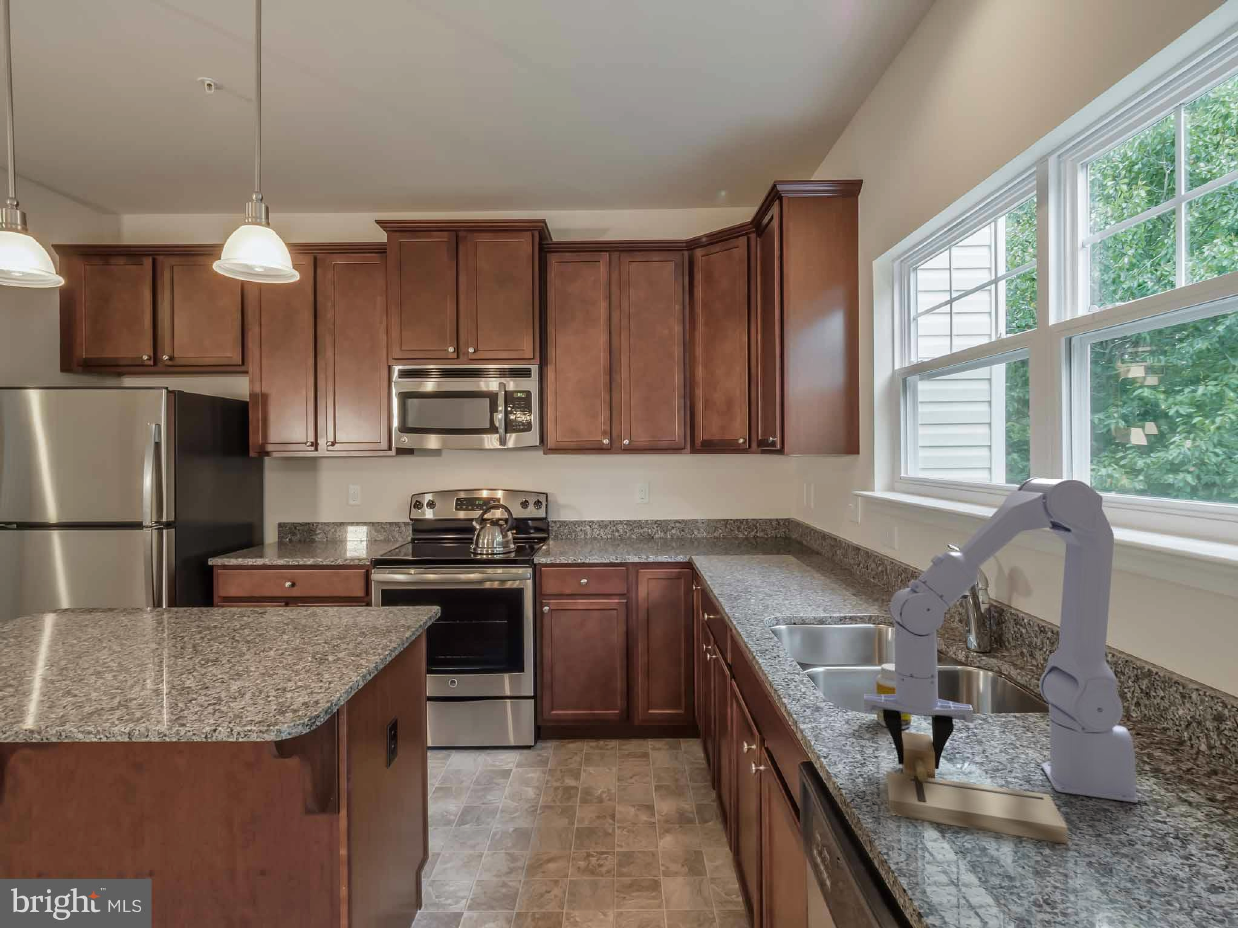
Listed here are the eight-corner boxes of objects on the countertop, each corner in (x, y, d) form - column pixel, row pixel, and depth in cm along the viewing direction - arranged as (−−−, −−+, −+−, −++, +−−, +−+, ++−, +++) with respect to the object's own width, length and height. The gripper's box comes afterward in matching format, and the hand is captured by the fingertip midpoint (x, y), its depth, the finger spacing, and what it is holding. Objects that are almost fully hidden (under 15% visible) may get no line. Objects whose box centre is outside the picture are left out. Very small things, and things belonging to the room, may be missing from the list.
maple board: (1049, 809, 85) (1049, 793, 85) (1067, 843, 77) (1067, 826, 77) (887, 785, 92) (887, 770, 92) (889, 814, 84) (889, 798, 84)
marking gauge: (931, 767, 96) (930, 734, 96) (939, 805, 85) (938, 768, 85) (902, 763, 97) (901, 731, 97) (907, 800, 87) (906, 764, 87)
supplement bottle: (899, 733, 109) (897, 674, 109) (870, 722, 113) (869, 665, 113) (917, 725, 112) (916, 667, 112) (889, 715, 116) (888, 659, 116)
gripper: (967, 667, 95) (969, 758, 95) (863, 659, 100) (865, 744, 100) (975, 683, 88) (977, 781, 88) (863, 673, 93) (865, 765, 93)
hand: (917, 763), depth 93 cm, fingers closed on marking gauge, 4 cm apart
